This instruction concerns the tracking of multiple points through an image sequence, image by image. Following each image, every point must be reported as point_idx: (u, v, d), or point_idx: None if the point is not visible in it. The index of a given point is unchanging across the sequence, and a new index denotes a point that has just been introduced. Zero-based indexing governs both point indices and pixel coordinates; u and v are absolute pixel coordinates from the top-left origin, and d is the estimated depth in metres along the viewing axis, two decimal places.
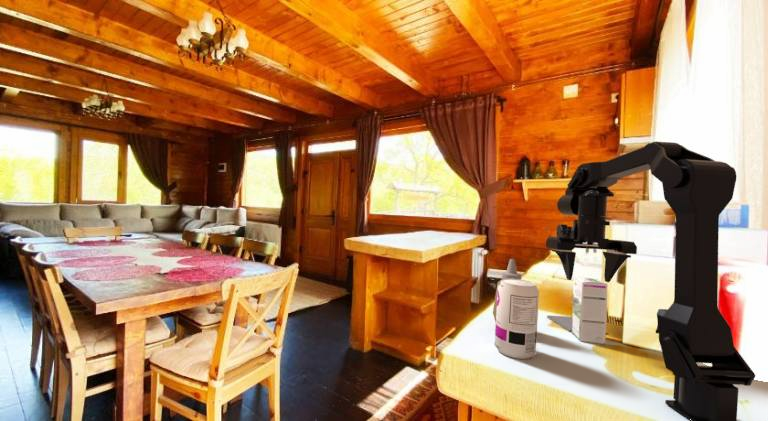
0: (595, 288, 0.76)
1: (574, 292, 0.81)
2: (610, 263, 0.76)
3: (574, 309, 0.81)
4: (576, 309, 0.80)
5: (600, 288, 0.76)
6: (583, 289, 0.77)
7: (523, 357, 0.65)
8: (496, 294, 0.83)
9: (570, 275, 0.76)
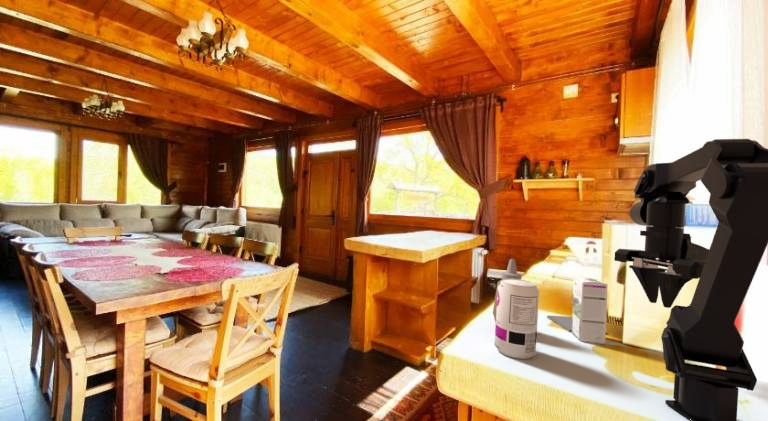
0: (595, 288, 0.76)
1: (574, 292, 0.81)
2: None
3: (574, 309, 0.81)
4: (576, 309, 0.80)
5: (600, 288, 0.76)
6: (583, 289, 0.77)
7: (523, 357, 0.65)
8: (496, 294, 0.83)
9: (647, 296, 0.66)
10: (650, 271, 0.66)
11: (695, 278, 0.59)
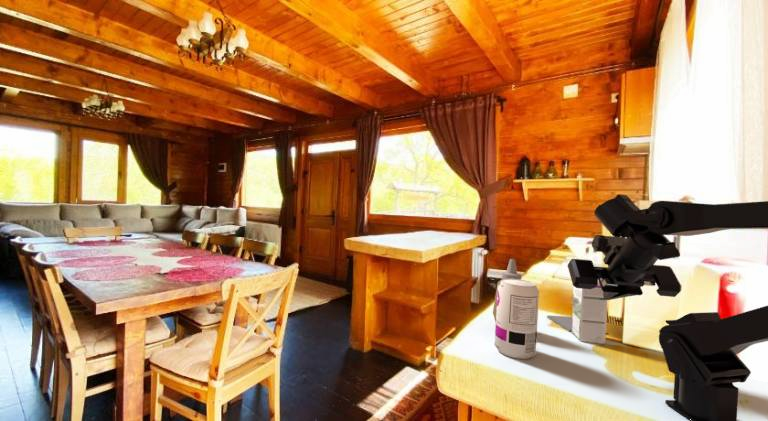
0: (595, 288, 0.76)
1: (574, 292, 0.81)
2: None
3: (574, 309, 0.81)
4: (576, 309, 0.80)
5: (600, 288, 0.76)
6: (583, 289, 0.77)
7: (523, 357, 0.65)
8: (496, 294, 0.83)
9: (606, 298, 0.70)
10: None
11: None
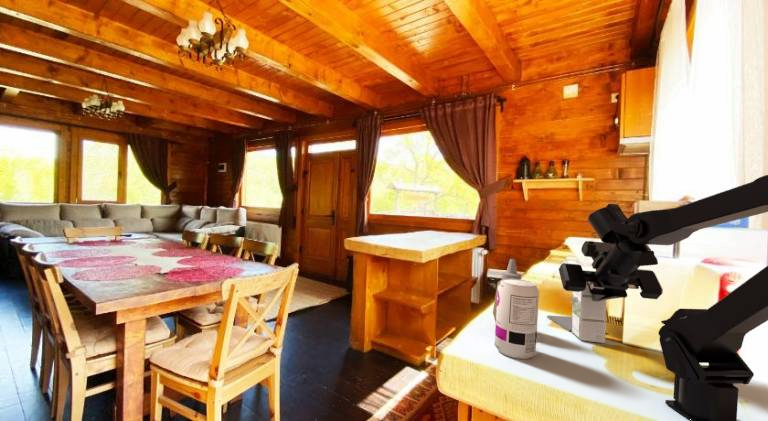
0: None
1: (573, 291, 0.82)
2: (604, 291, 0.73)
3: (574, 308, 0.81)
4: (575, 309, 0.80)
5: None
6: None
7: (523, 357, 0.65)
8: (496, 294, 0.83)
9: (594, 300, 0.75)
10: None
11: None
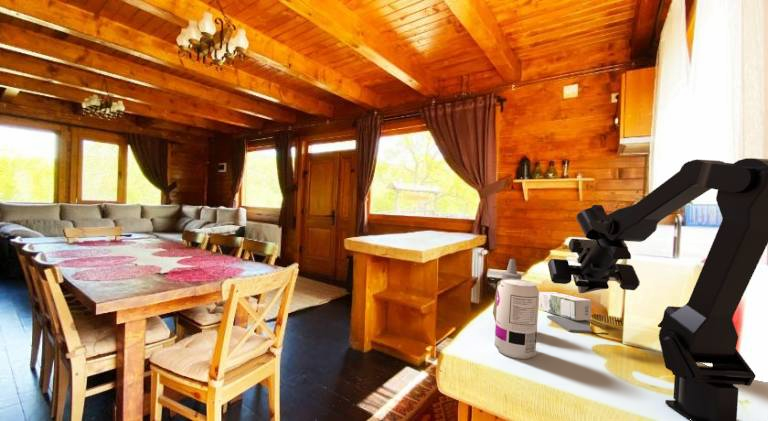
0: (548, 292, 1.03)
1: (546, 308, 0.99)
2: (588, 284, 0.81)
3: (557, 309, 0.95)
4: (556, 305, 0.95)
5: (551, 292, 1.03)
6: (543, 292, 1.01)
7: (523, 357, 0.65)
8: (496, 294, 0.83)
9: (580, 292, 0.83)
10: None
11: None
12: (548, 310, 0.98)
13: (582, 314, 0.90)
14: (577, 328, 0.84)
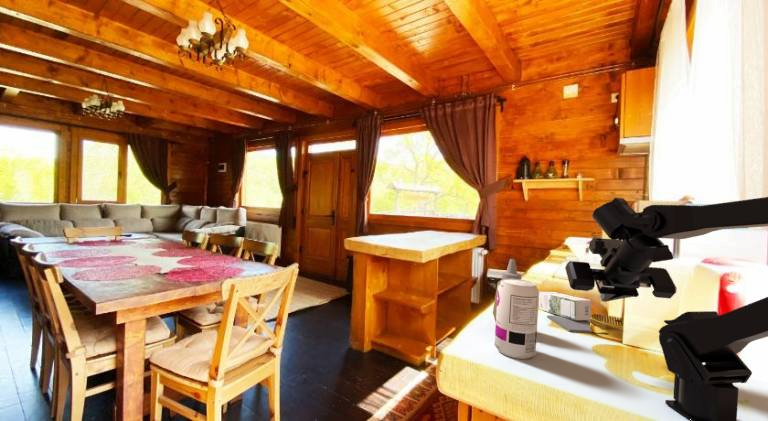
0: (548, 292, 1.03)
1: (546, 308, 0.99)
2: (613, 290, 0.69)
3: (557, 309, 0.95)
4: (556, 305, 0.95)
5: (551, 292, 1.03)
6: (543, 292, 1.01)
7: (523, 357, 0.65)
8: (496, 294, 0.83)
9: (603, 300, 0.71)
10: None
11: None
12: (548, 310, 0.99)
13: (582, 314, 0.90)
14: (577, 328, 0.84)
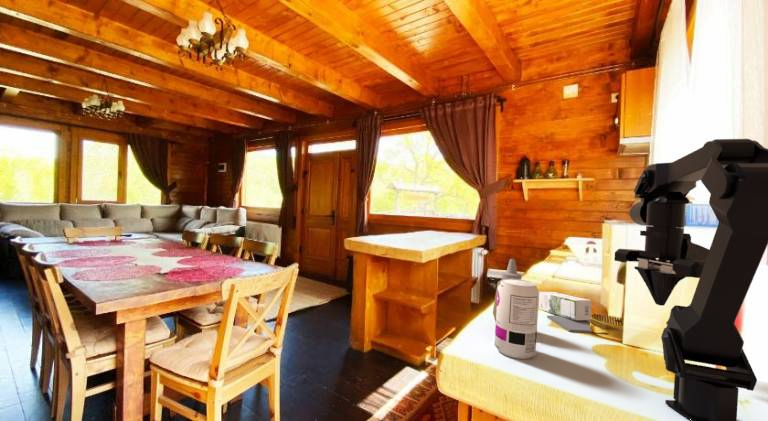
0: (548, 292, 1.03)
1: (546, 308, 0.99)
2: None
3: (557, 309, 0.95)
4: (556, 305, 0.95)
5: (551, 292, 1.03)
6: (543, 292, 1.01)
7: (523, 357, 0.65)
8: (496, 294, 0.83)
9: (653, 297, 0.64)
10: None
11: (688, 276, 0.60)
12: (548, 310, 0.99)
13: (582, 314, 0.90)
14: (577, 328, 0.84)
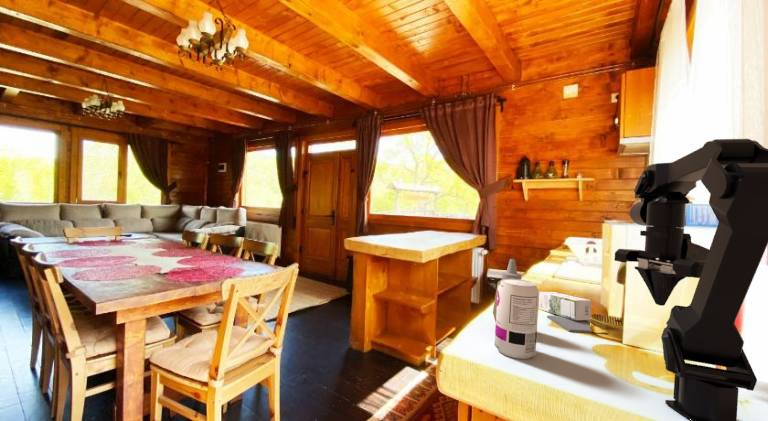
0: (548, 292, 1.03)
1: (546, 308, 0.99)
2: None
3: (557, 309, 0.95)
4: (556, 305, 0.95)
5: (551, 292, 1.03)
6: (543, 292, 1.01)
7: (523, 357, 0.65)
8: (496, 294, 0.83)
9: (653, 298, 0.64)
10: None
11: (688, 276, 0.60)
12: (548, 310, 0.99)
13: (582, 314, 0.90)
14: (577, 328, 0.84)
